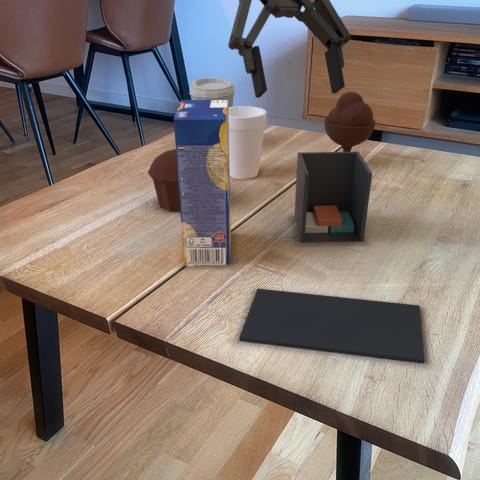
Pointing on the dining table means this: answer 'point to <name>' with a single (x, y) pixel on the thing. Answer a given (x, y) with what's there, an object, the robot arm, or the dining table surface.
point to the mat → (335, 325)
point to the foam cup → (245, 140)
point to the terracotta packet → (327, 215)
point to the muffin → (166, 180)
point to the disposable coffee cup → (212, 90)
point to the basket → (332, 191)
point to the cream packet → (314, 225)
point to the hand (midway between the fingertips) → (301, 92)
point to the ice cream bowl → (350, 121)
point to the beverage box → (204, 180)
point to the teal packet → (343, 224)
